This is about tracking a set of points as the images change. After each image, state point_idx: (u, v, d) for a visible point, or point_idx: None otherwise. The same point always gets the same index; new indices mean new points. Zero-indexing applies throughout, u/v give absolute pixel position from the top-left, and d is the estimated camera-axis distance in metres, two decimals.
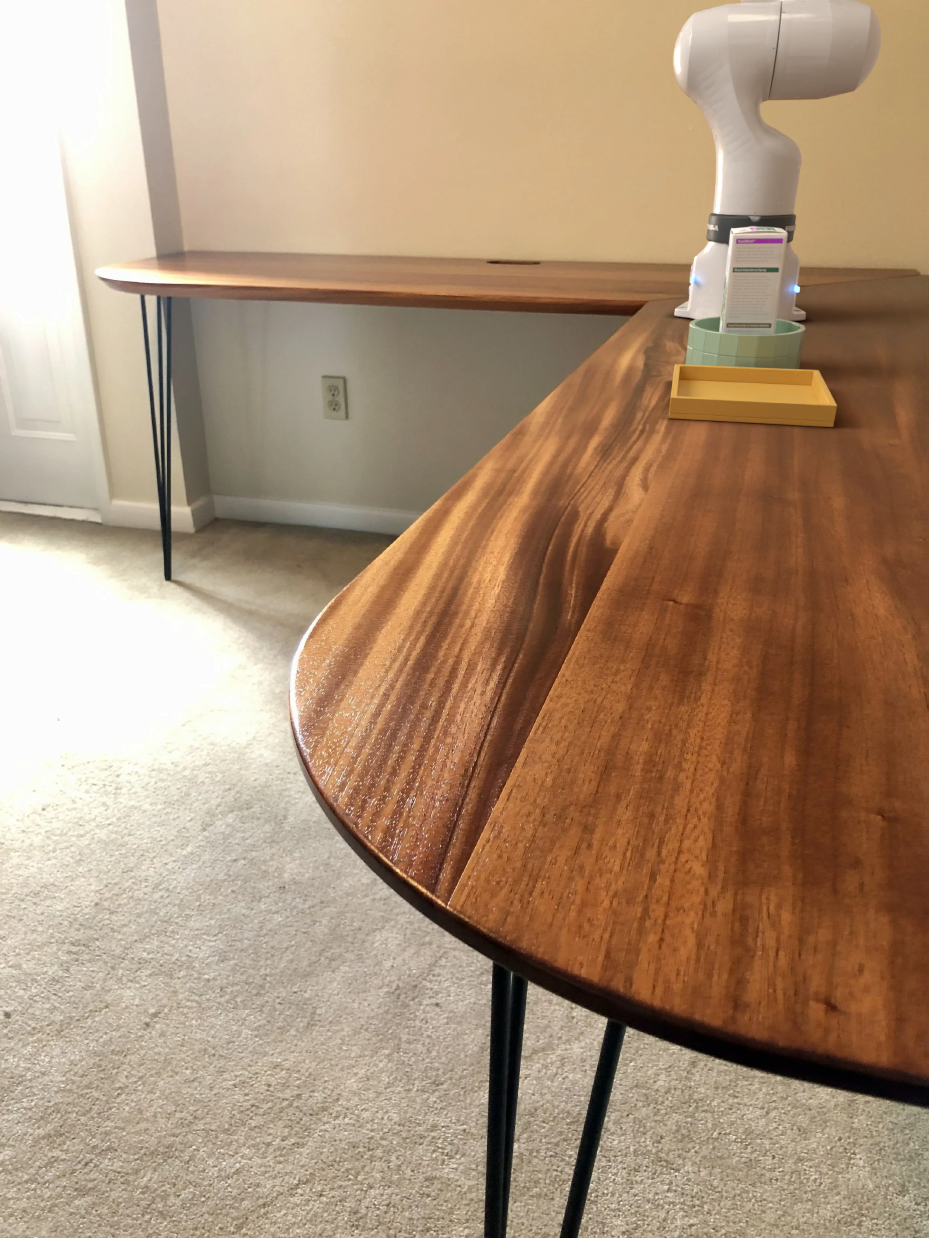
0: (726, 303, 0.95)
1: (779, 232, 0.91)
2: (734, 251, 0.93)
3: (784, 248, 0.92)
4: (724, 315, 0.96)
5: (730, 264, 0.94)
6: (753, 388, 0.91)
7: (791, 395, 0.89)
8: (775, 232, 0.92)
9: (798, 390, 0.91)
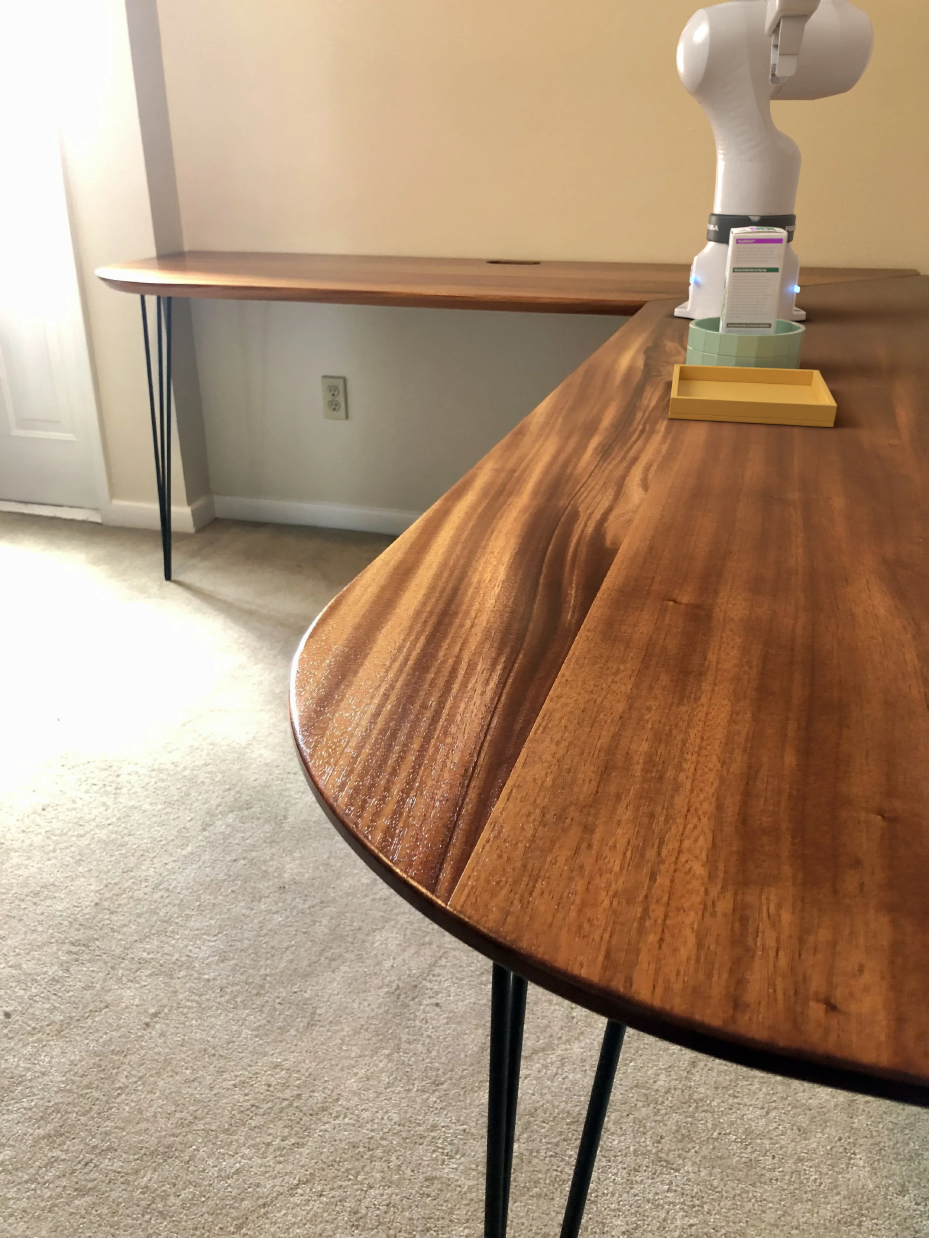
0: (726, 303, 0.95)
1: (779, 232, 0.91)
2: (734, 251, 0.93)
3: (784, 248, 0.92)
4: (724, 315, 0.96)
5: (730, 264, 0.94)
6: (753, 388, 0.91)
7: (791, 395, 0.89)
8: (775, 232, 0.92)
9: (798, 390, 0.91)
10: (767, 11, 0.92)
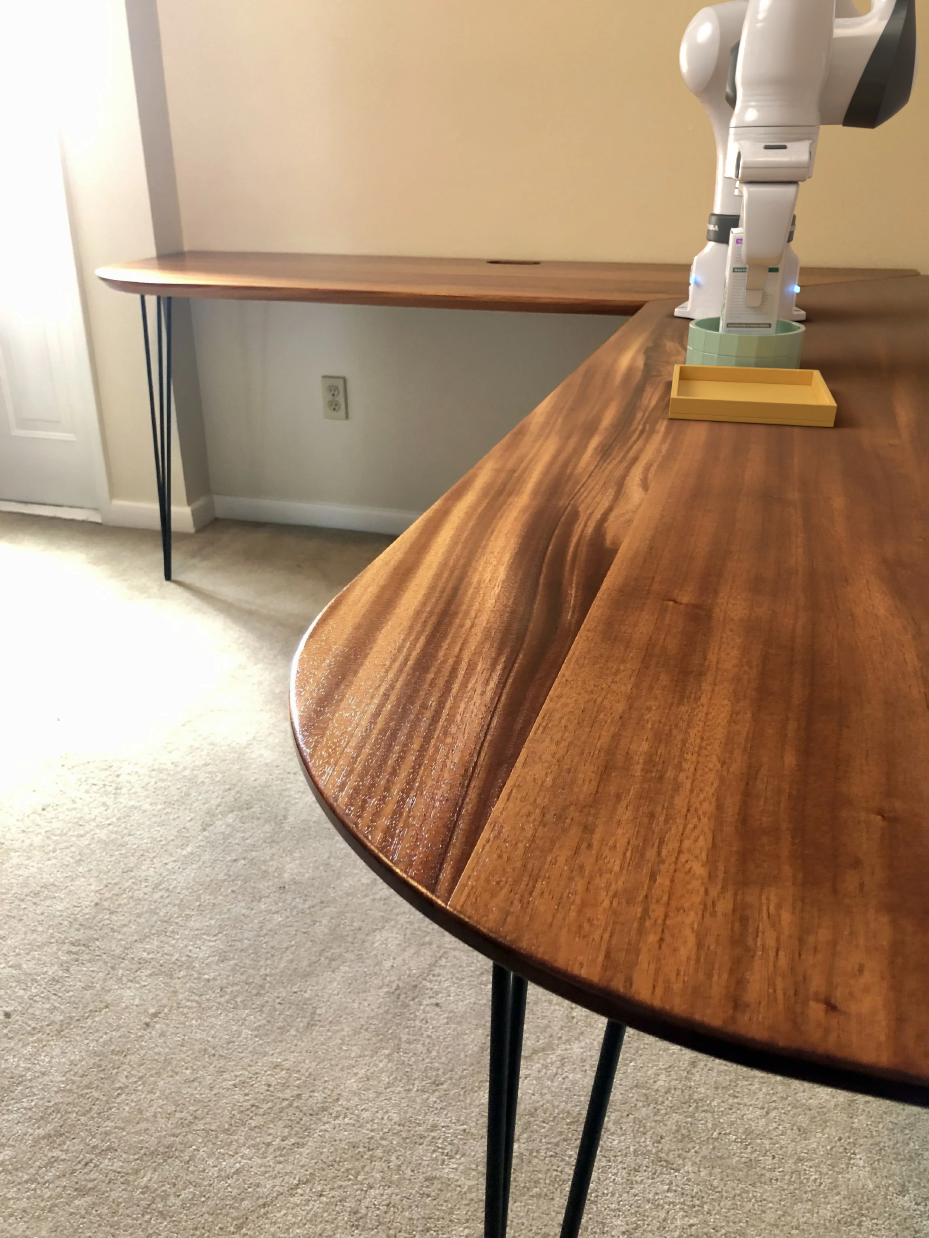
0: (726, 303, 0.95)
1: None
2: (734, 251, 0.93)
3: None
4: (724, 315, 0.96)
5: (730, 264, 0.94)
6: (753, 388, 0.91)
7: (791, 395, 0.89)
8: None
9: (798, 390, 0.91)
10: None
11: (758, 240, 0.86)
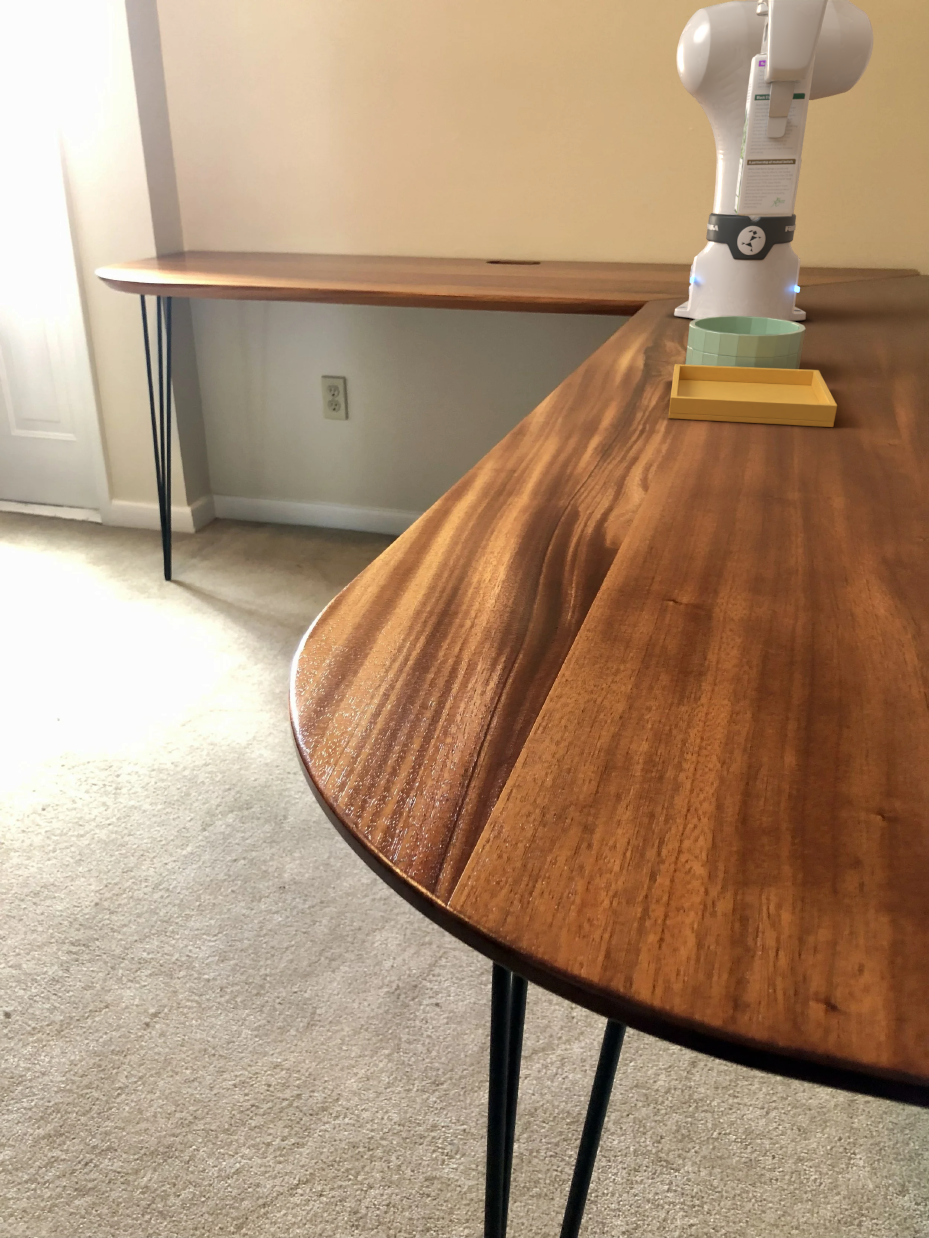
0: (747, 137, 0.88)
1: None
2: (756, 75, 0.86)
3: (811, 70, 0.85)
4: (744, 151, 0.89)
5: (752, 91, 0.86)
6: (753, 388, 0.91)
7: (791, 395, 0.89)
8: None
9: (798, 390, 0.91)
10: None
11: (785, 49, 0.78)
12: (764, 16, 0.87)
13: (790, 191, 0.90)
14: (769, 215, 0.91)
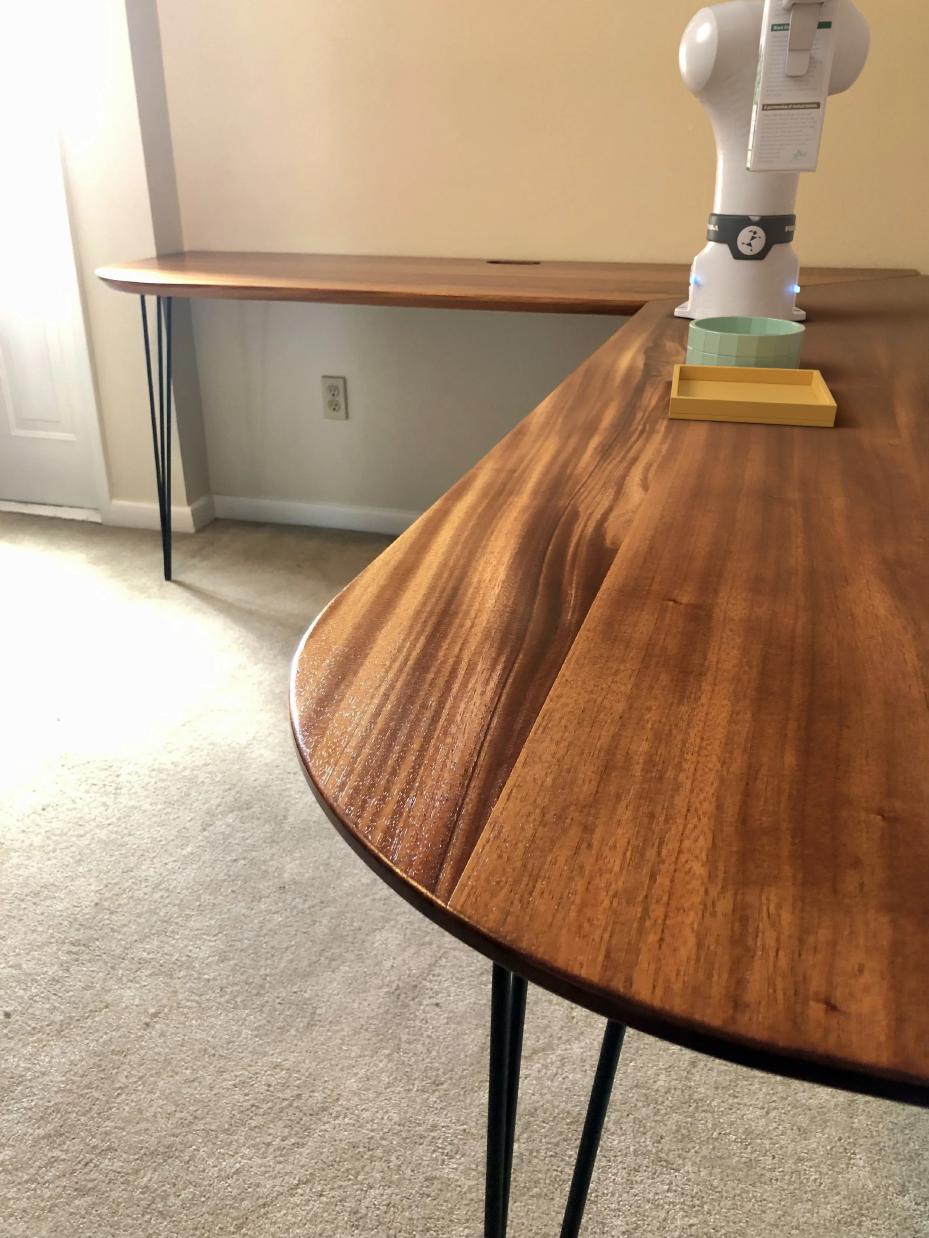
0: (762, 76, 0.74)
1: None
2: (773, 1, 0.71)
3: None
4: (759, 94, 0.75)
5: (768, 20, 0.72)
6: (753, 388, 0.91)
7: (791, 395, 0.89)
8: None
9: (798, 390, 0.91)
10: None
11: None
12: None
13: (813, 141, 0.75)
14: (788, 171, 0.77)
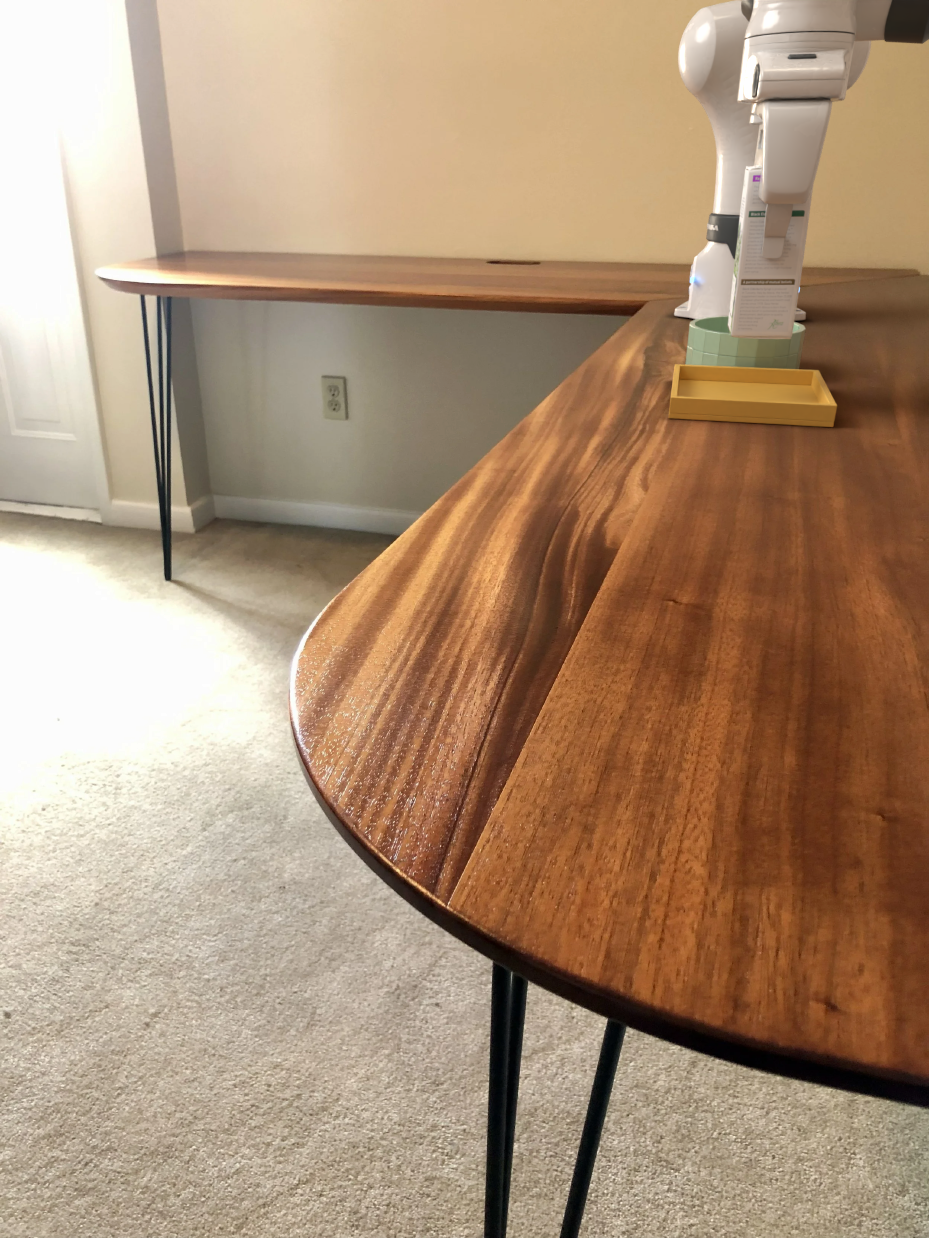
0: (741, 255, 0.80)
1: None
2: (750, 191, 0.77)
3: None
4: (738, 270, 0.80)
5: (746, 207, 0.78)
6: (753, 388, 0.91)
7: (791, 395, 0.89)
8: None
9: (798, 390, 0.91)
10: None
11: (782, 172, 0.70)
12: None
13: (789, 312, 0.81)
14: (766, 337, 0.83)
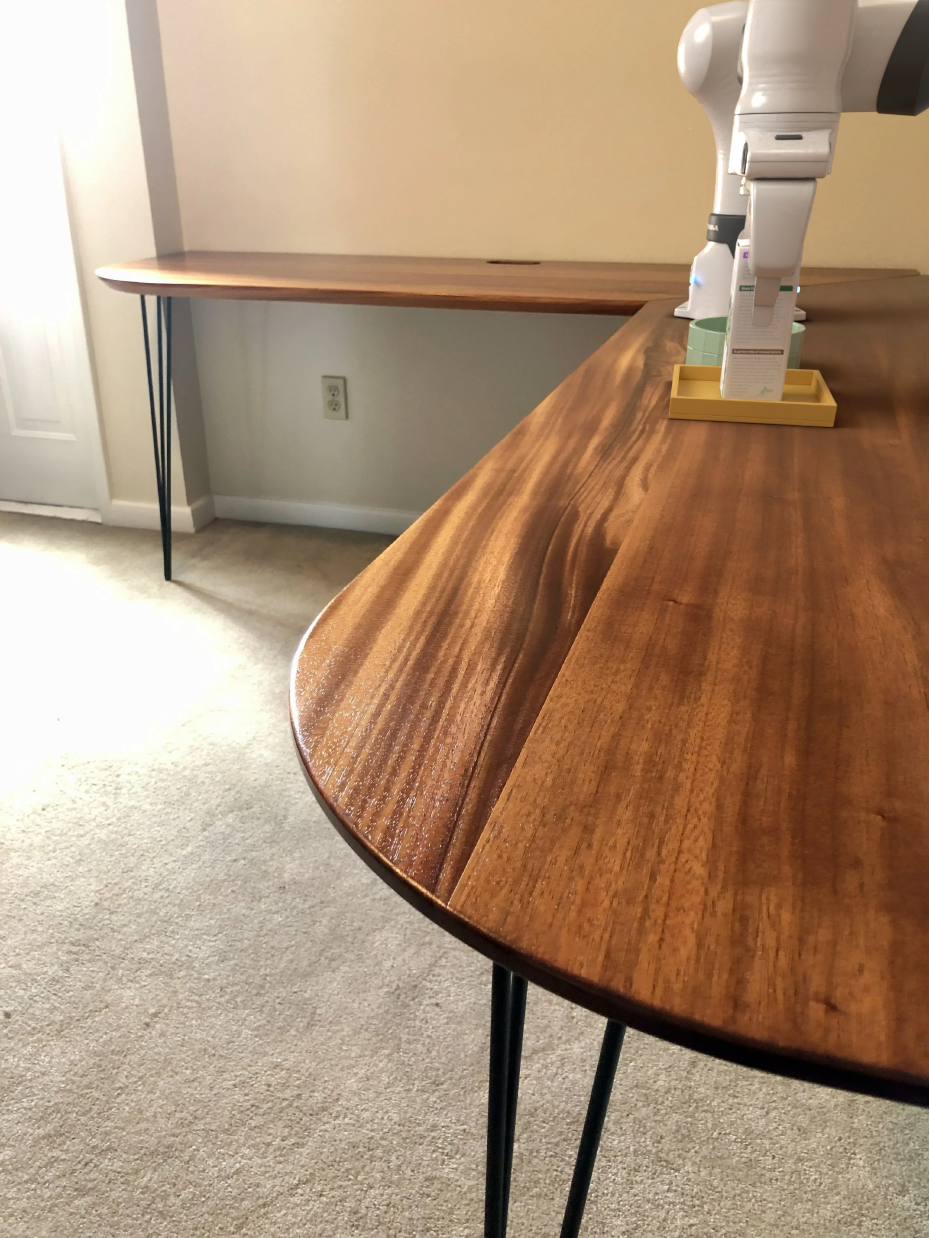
0: (731, 326, 0.83)
1: None
2: (741, 267, 0.80)
3: (799, 263, 0.79)
4: (729, 340, 0.83)
5: (736, 281, 0.81)
6: None
7: (791, 395, 0.89)
8: None
9: (798, 390, 0.91)
10: (744, 232, 0.88)
11: (769, 248, 0.73)
12: None
13: (778, 380, 0.84)
14: None
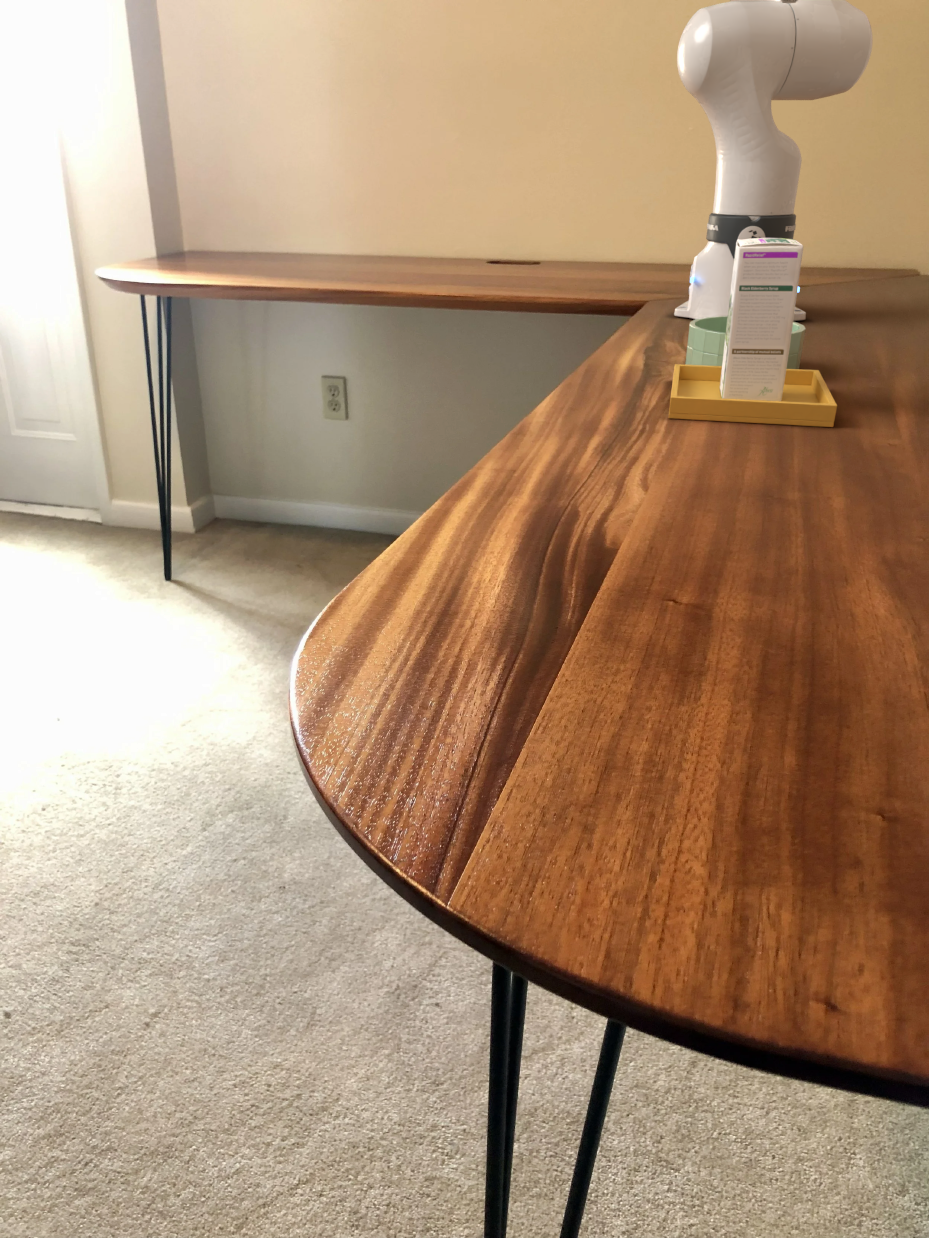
0: (731, 326, 0.83)
1: (793, 245, 0.79)
2: (741, 267, 0.80)
3: (799, 263, 0.79)
4: (729, 340, 0.83)
5: (736, 281, 0.81)
6: None
7: (791, 395, 0.89)
8: (789, 245, 0.79)
9: (798, 390, 0.91)
10: None
11: None
12: None
13: (778, 380, 0.84)
14: None
